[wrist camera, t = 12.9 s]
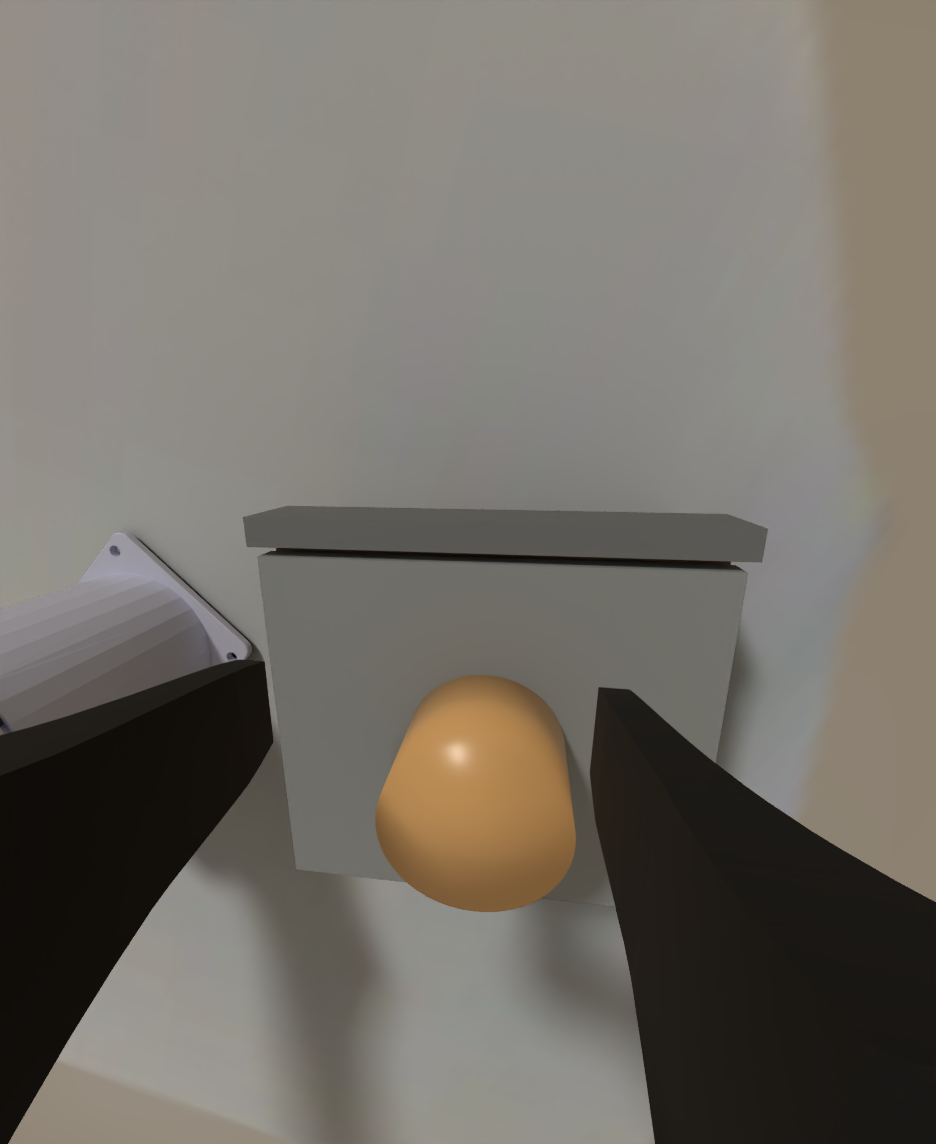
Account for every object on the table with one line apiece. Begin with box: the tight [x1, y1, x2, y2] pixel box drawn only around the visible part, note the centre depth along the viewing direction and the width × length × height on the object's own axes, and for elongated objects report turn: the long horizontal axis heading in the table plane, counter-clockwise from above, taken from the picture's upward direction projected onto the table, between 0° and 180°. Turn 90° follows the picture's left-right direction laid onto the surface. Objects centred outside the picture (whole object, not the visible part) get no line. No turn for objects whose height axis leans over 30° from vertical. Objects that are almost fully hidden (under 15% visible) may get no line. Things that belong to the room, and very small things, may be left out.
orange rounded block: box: [375, 675, 576, 912], centre depth 13 cm, size 5×5×4 cm
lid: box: [243, 506, 768, 907], centre depth 16 cm, size 13×15×3 cm
